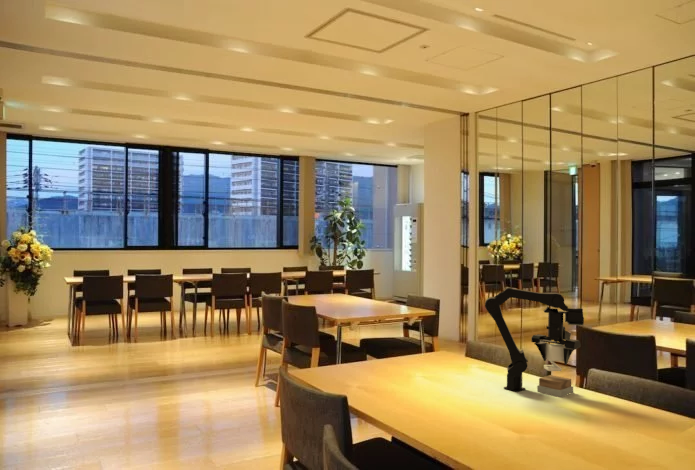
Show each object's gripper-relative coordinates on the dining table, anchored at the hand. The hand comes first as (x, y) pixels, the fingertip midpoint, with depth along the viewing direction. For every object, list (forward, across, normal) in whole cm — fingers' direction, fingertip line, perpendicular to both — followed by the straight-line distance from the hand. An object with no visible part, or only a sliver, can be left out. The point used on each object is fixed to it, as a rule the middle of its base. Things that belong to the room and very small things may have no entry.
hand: (555, 362), depth 231 cm
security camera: (+3, 0, 0) cm, 3 cm away
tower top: (+10, 0, 0) cm, 10 cm away
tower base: (+12, 0, 0) cm, 13 cm away
